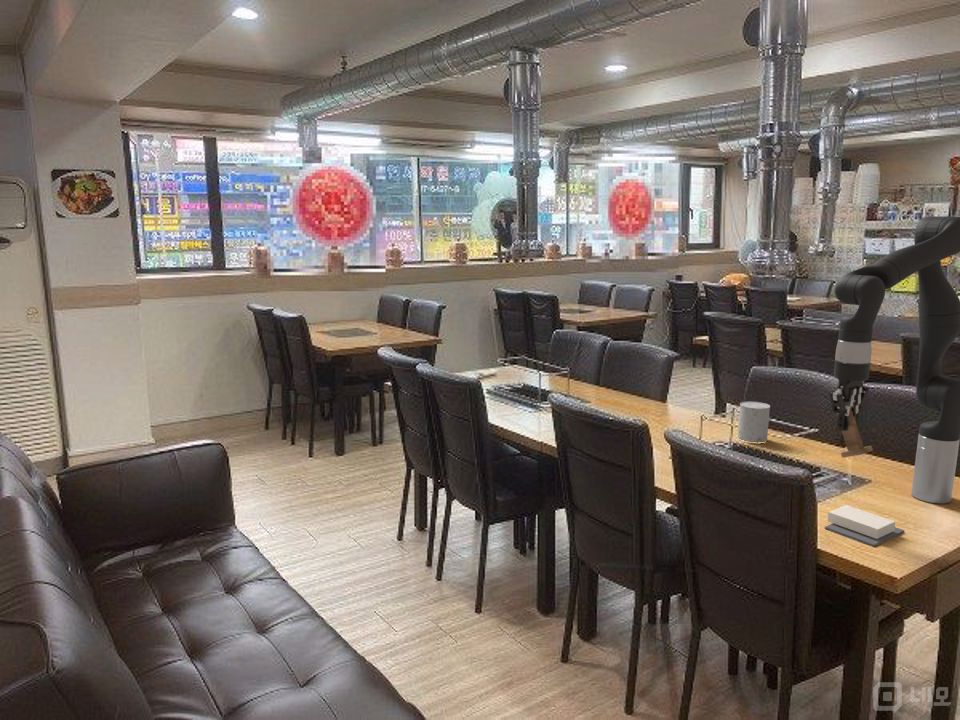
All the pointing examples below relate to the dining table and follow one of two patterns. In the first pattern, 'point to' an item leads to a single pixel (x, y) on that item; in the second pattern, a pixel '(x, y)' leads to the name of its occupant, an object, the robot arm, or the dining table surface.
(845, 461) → the dining table surface
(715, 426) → the dining table surface
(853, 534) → the mat
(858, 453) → the brown tapered stand
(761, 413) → the grey stone cylinder
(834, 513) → the white rectangular block
